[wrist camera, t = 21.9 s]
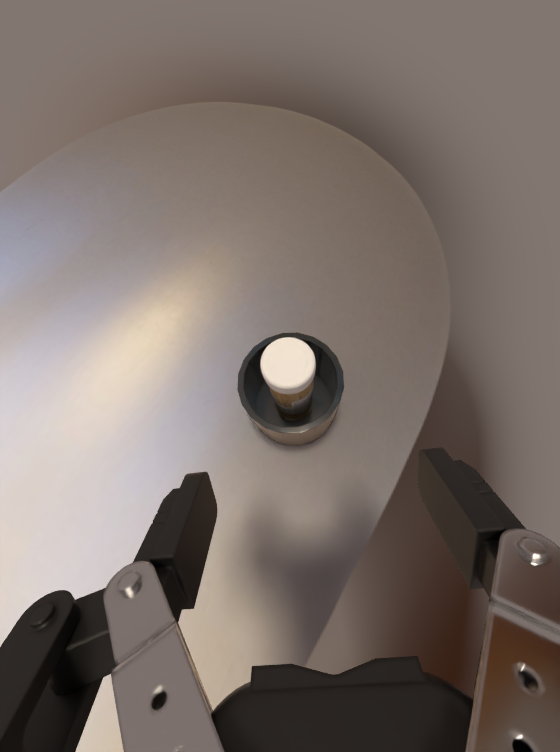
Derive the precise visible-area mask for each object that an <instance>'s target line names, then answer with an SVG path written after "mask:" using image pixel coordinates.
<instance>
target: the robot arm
mask: <svg viewBox="0 0 560 752" xmlns="http://www.w3.org/2000/svg"><path fill="white" fill-rule="evenodd" d="M418 463H419V464H418V488H419V493H420V495H421V498H422V501H423V503H424V505H425V506H426V508H427V510H428V512H429V514H430V516H431V518H432V519H433V521H434V523H435V525H436V527H437V529H438V530H439V532H440V534H441V536H442V538H443V540H444V542H445V543H446V545H447V547H448V549H449V551H450V553H451V554H452V556H453V558H454V560H455V562H456V564H457V566H458V567H459V569H460V571H461V573H462V575H463V577H464V578H465V580H466V582H467V584H468V586H469V588H470V589H477V588H484V589H485V591H486V593H487V595H488V596H489V604H488V610H487V616H486V622H485V628H484V634H483V640H482V646H481V652H480V658H479V664H478V670H477V676H476V682H475V688H474V694H473V699H472V698H471V697H470V696H468V695H467V694H466V693H465V692H463V691H462V690H460V689H459V688H457V687H456V686H454V685H453V684H451V683H449V682H447V681H446V680H443V679H442V678H440V677H437V676H435V675H432V674H430V673H426V672H422V669H421V665H420V662H419V659H418V657H417V656H411V657H397V658H379V659H374V660H371V661H369V662H366V663H364V664H362V665H359V666H357V667H354V668H352V669H350V670H347V671H345V672H342V673H341V674H337V675H331V674H327V673H323V672H320V671H316V670H312V669H308V668H305V667H301V666H298V665H294V664H281V665H265V666H252V673H251V682H249V683H246V684H244V685H243V686H241V687H239V688H238V689H236V690H235V691H233V692H232V693H231V694H229V695H228V696H227V697H226V698H225V699H224V700H223V701H222V702H221V703H220V704H219V705H218V706H217V707H216V708H215V709H214V711H213V709H212V707H211V704H210V702H209V699H208V697H207V695H206V692H205V690H204V687H203V685H202V682H201V680H200V677H199V675H198V672H197V670H196V667H195V665H194V662H193V659H192V657H191V654H190V652H189V649H188V647H187V644H186V642H185V639H184V637H183V634H182V632H181V629H180V626H179V624H178V621H179V617H180V614H181V610H182V609H194V606H195V602H196V598H197V594H198V590H199V586H200V582H201V578H202V574H203V570H204V566H205V562H206V558H207V554H208V550H209V546H210V543H211V539H212V535H213V531H214V527H215V523H216V518H217V503H216V499H215V495H214V492H213V488H212V485H211V481H210V478H209V475H208V473H207V472H199V473H190V474H186V476H185V477H184V480H183V482H182V484H181V487H180V488H178V489H173V490H172V491H171V492H170V493H169V494H168V495H167V496H166V497H165V498H164V499H163V501H162V503H161V505H160V508H159V510H158V514H156V516H155V518H154V520H153V524H151V526H150V528H149V530H148V532H147V534H146V537H145V539H144V541H143V543H142V545H141V547H140V549H139V551H138V553H137V555H136V557H135V559H134V561H133V563H132V564H129V565H127V566H125V567H124V568H122V569H121V570H120V571H119V572H117V573H116V574H115V575H114V576H113V578H112V579H111V580H110V582H109V583H108V585H107V587H106V588H104V589H102V590H99V591H97V592H94V593H92V594H89V595H87V596H84V597H81V598H79V599H76V600H75V599H74V597H73V596H72V594H71V593H70V592H68V591H65V590H59V591H55V592H52V593H50V594H47V595H45V596H44V597H42V598H40V599H39V600H38V601H36V602H35V603H34V604H33V605H31V606H30V607H29V608H28V609H27V610H26V611H25V612H24V613H23V615H22V616H21V617H20V619H19V620H18V621H17V623H16V624H15V626H14V627H13V629H12V630H11V632H10V633H9V635H8V636H7V638H6V639H5V641H4V642H3V644H2V645H1V647H0V752H75V751H76V748H77V745H78V743H79V740H80V738H81V735H82V732H83V730H84V727H85V724H86V722H87V719H88V716H89V714H90V711H91V708H92V706H93V703H94V700H95V698H96V695H97V693H98V690H99V687H100V685H101V682H102V679H103V677H105V676H107V675H109V674H111V677H112V685H113V690H114V696H115V702H116V708H117V714H118V720H119V726H120V732H121V738H122V744H123V749H124V752H560V548H559V547H558V546H557V545H556V544H555V543H554V542H552V541H551V540H549V539H548V538H546V537H544V536H542V535H541V534H538V533H536V532H533V531H530V530H527V529H526V528H525V527H524V526H523V525H522V524H521V522H520V521H519V520H518V519H517V518H516V517H515V516H514V514H513V513H512V512H511V511H510V510H509V508H508V507H507V506H506V505H505V504H504V503H503V501H502V500H501V499H500V498H499V497H498V496H497V494H496V493H495V492H493V490H492V489H491V487H490V486H489V485H488V484H487V483H485V481H484V479H483V478H482V477H481V476H480V474H479V473H478V472H477V471H476V470H475V469H474V468H472V467H470V466H469V465H468V464H466V463H464V462H463V461H461V460H458V461H453V460H452V459H451V457H450V456H449V455H448V453H447V452H446V451H445V450H444V449H443V448H432V449H423V450H420V451H419V462H418Z"/></svg>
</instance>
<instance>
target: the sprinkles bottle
mask: <svg viewBox="0 0 560 752" xmlns="http://www.w3.org/2000/svg"><path fill="white" fill-rule="evenodd" d="M260 367H261V371H262V375H263V377H264V379H265V381H266V383H267V384H268V386H269V387H270V391H271V394H272V396H273V400H274V402H275V406H276V409H277V411H278V413H279V414H280V415H281V416H282V417H284V418H285V419H287V420H291V421H293V420H294V421H296V420H300V419H303V418H304V417H306V416H307V415H308V414H309V413H310V411H311V409H312V403H313V402H312V396H313V378H314V375H315V369H316V361H315V356H314V353H313V351H312V349H311V348H310V347H309V346H308V345H307V344H306V343H305V342H303V341H302V340H299V339H297V338H291V337H286V338H281V339H278V340H275V341H274V342H272V343H271V344H269V345H268V346H267V348H266V349H265V350H264V352H263V354H262V357H261V361H260Z"/></svg>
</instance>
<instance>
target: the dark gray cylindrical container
mask: <svg viewBox="0 0 560 752" xmlns="http://www.w3.org/2000/svg"><path fill="white" fill-rule="evenodd" d="M286 337H291V338H297V339H299V340H302V341H303V342H305V343H306V344H307V345H308V346H309V347H310V348H311V349H312V351H313V353H314V356H315V361H316V369H315V375H314V378H313V396H312V402H313V403H312V409H311V411H310V413H309V414H308V415H307V416H306V417H304V418H303V419H300V420H296V421H294V420H293V421H291V420H287V419H285V418H284V417H282V416H281V415H280V414H279V413H278V411H277V409H276V406H275V402H274V400H273V396H272V394H271V391H270V387H269V386H268V384H267V383H266V381H265V379H264V377H263V375H262V371H261V367H260V361H261V357H262V354H263V352H264V350H265V349H266V348H267V346H268V345H269V344H271V343H272V342H274V341H275V340H278V339H281V338H286ZM343 389H344V380H343V370H342V368H341V365H340V363H339V361H338V358H337V357H336V355H335V354H334V353H333V352H332V351H331V350H330V348H329V347H328V346H327V345H326V344H324V343H323V342H321V341H319V340H318V339H316V338H314V337H312V336H308V335H304V334H301V333H282V334H278V335H275V336H272V337H269V338H266V339H265V340H263V341H262V342H261V343H259V344H258V345H256V346H255V347H254V348H253V349H252V350H251V351H250V353H249V354H248V355H247V356H246V357H245V359H244V361H243V363H242V366H241V368H240V371H239V374H238V393H239V396H240V400H241V403H242V406H243V407H244V408H245V410H246V411H247V413H248V414H249V416H250V417H251V418H252V420H253V421H254V422H255V423H256V424H257V426H258V427H259V428H260V429H261V431H262V432H263V433H264V434H266V435H267V436H268V437H269V438H271V439H272V440H274V441H276V442H278V443H281V444H285V445H292V446H293V445H303V444H307V443H310V442H312V441H314V440H316V439H317V438H319V437H320V436H321V435H323V434H324V433H325V432H326V430H327V429H328V428H329V426H330V425H331V423H332V421H333V419H334V417H335V414H336V411H337V409H338V406H339V403H340V400H341V396H342V393H343Z"/></svg>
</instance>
